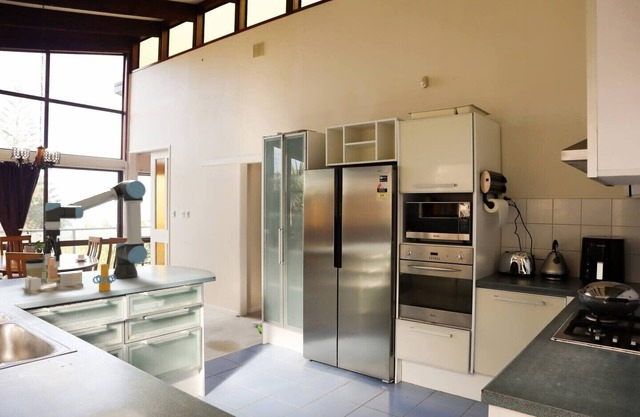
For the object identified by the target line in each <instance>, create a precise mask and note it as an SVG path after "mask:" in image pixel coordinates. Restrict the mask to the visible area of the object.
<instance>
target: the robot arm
mask: <svg viewBox="0 0 640 417" xmlns="http://www.w3.org/2000/svg"><path fill="white" fill-rule="evenodd" d="M146 192H147V190H146V186H145V184H144V183H143V182H141V181H139V180H136V179H135V180H134V179H133V180H132V179H131V180H123V181H120V182H119V183H117V184H114V185H112V186H109V187H108V189H104V190H102V191H100V192H97V193H94V194H92V195H91V194H90V195H89V196H87V197H84V198H80V199H78V200H75V201H73V202H70V203H67V204H64V205H63V204H62V205H61V202H46V203H45V208H44V211H45V212H44V213H45V216H44V219H45V220H44V221H45V222H44V224H43V225H44V228H45V230H44V236H45V242H44V246H43V247H44V248H43V253H44V257H45V265H48V258H51V257H52V251H53V253H54V254H53V257H54V267H58V268H61V267H60V266H61V263H60V262H61V255H62V254H63V253H62V248H61V241H60V240H61V239H60V237H61V222H62V221H61V220H62V219H63V220H64V219H67V220H68V219H70V220H71V219H74V220H75V219H76V220H77V219H78V220H79V219H82V218H83V217H84V212H85V211H88V210H90V209H93V208H95V207H98V206H101V205H104V204H106V203H108V202H109V203H110V202H112V201H118V200H122V199H123V202H124V203H125V205H126V206H125V207H126V237H127V238H126V239H127V240H126V241H125V242H119V243H117V244H116V246H115V247H116V248H115V267H114V271H113V272H112V273H113V274H112V275H115V276H116V279H133V278H137V277H138V276H139V274H138V270H137V267H136V264H137V265H138V264H141V263H144V261H145V260H146V259H147V258H148V257H147V256H148V249H146V247H145V241H143V240H142V213H141V212H142V211H141V209H142V208H141V204H142V203H143V200H144V196H145V194H146ZM51 250H52V251H51ZM112 277H113V279H115V277H114V276H112Z"/></svg>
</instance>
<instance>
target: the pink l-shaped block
mask: <svg viewBox="0 0 640 417" xmlns="http://www.w3.org/2000/svg"><path fill="white" fill-rule="evenodd" d="M58 268H59V267H54V258H48V278H46V280H45V283H46V284H52V283H56V282H60V276H58V273H59V272H58Z"/></svg>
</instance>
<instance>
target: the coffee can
mask: <svg viewBox="0 0 640 417" xmlns="http://www.w3.org/2000/svg"><path fill="white" fill-rule="evenodd" d="M51 258H54V256H51ZM37 259H43V261H44V263H43V271H42V278H41V282H42V281H43V282H44V281H45V282H46V278H48V265H45V256H42V257H38V258H37Z"/></svg>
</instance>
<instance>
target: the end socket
mask: <svg viewBox="0 0 640 417" xmlns="http://www.w3.org/2000/svg"><path fill="white" fill-rule="evenodd" d="M24 282H25V283H24V289H26V290H29V291H30V290H38V289H41V287H42V280H41V278H37V277H30V276H27V275H26V278H24Z"/></svg>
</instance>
